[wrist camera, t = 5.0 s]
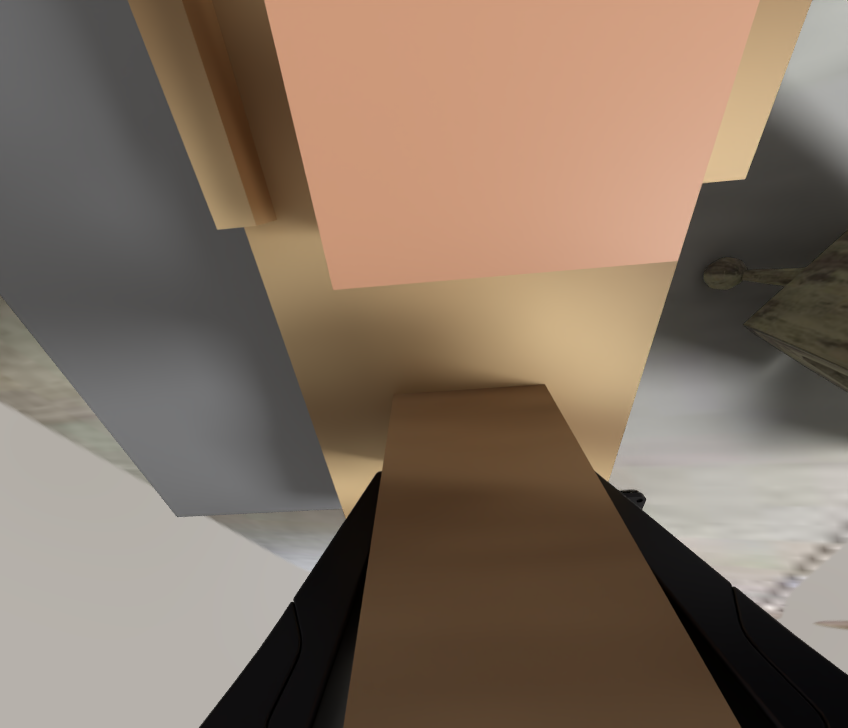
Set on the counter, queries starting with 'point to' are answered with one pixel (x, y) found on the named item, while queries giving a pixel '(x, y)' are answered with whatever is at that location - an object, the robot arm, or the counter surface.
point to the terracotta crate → (504, 129)
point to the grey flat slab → (141, 271)
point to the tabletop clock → (800, 308)
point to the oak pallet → (465, 418)
